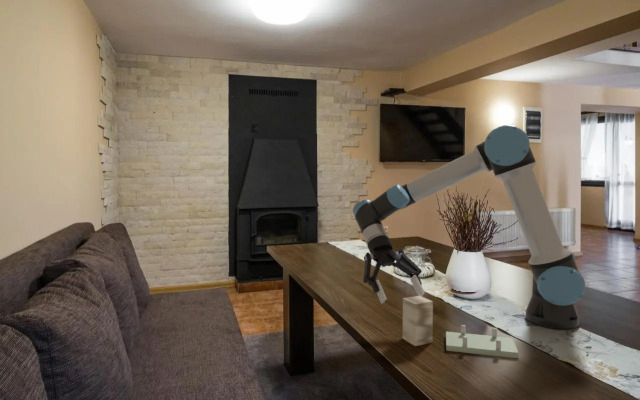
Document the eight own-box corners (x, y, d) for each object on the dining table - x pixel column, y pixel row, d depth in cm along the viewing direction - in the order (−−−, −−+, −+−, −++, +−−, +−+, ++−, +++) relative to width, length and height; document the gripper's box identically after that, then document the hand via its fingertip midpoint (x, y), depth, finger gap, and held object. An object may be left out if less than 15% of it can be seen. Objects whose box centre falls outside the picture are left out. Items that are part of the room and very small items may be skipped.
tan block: (419, 334, 124) (419, 295, 124) (432, 342, 119) (432, 301, 118) (402, 338, 122) (402, 298, 121) (415, 346, 117) (415, 304, 116)
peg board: (512, 343, 118) (512, 329, 118) (518, 358, 108) (518, 343, 108) (445, 336, 123) (446, 323, 123) (446, 350, 114) (446, 336, 113)
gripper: (404, 244, 145) (431, 299, 132) (340, 250, 135) (362, 310, 123) (413, 231, 140) (442, 287, 127) (347, 236, 130) (371, 297, 117)
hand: (403, 298), depth 125 cm, fingers open, 13 cm apart
